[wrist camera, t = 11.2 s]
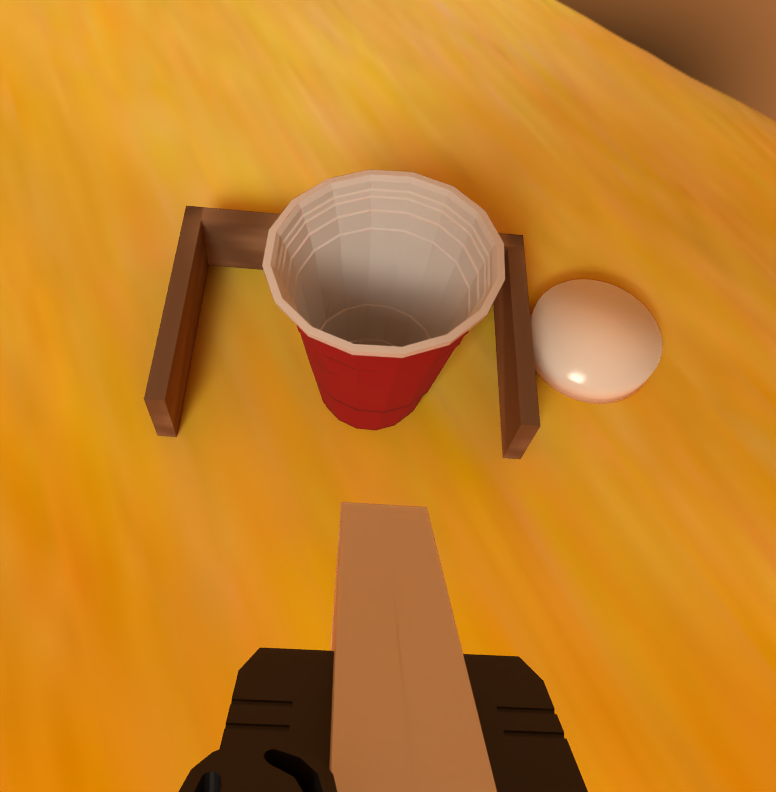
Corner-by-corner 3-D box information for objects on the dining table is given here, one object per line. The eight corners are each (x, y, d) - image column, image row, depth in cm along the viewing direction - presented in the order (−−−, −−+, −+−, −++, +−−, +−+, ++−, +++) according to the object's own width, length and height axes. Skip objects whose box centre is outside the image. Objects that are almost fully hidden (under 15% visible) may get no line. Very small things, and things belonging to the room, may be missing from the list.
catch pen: (507, 277, 48) (522, 235, 44) (520, 459, 41) (540, 426, 38) (194, 251, 46) (186, 205, 43) (157, 435, 40) (144, 399, 36)
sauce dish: (639, 303, 48) (651, 284, 47) (658, 410, 44) (672, 394, 43) (519, 293, 48) (527, 274, 46) (527, 400, 44) (537, 383, 42)
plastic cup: (304, 291, 46) (305, 136, 35) (473, 337, 45) (524, 193, 35) (244, 441, 40) (223, 310, 30) (435, 495, 40) (482, 380, 29)
